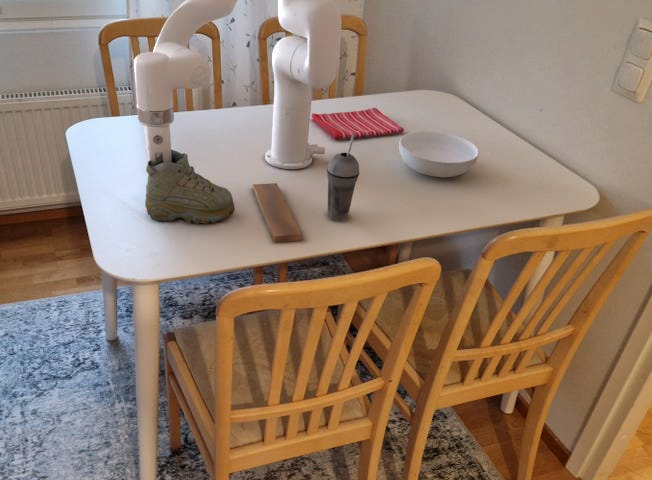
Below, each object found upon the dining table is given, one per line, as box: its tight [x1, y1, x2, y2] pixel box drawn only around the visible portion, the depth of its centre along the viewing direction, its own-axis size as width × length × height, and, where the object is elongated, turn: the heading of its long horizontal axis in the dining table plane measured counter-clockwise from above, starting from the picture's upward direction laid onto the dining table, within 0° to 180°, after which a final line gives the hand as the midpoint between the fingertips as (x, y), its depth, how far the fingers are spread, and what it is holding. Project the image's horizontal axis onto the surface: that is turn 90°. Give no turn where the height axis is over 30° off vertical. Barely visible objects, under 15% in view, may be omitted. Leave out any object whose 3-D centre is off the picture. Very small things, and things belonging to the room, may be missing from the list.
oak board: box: [252, 182, 303, 244], centre depth 145 cm, size 6×24×2 cm, turn 14°
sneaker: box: [144, 149, 236, 225], centre depth 139 cm, size 11×19×15 cm, turn 83°
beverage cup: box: [326, 135, 360, 222], centre depth 141 cm, size 7×7×20 cm
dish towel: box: [311, 107, 405, 141], centre depth 191 cm, size 17×24×3 cm
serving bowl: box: [398, 130, 480, 178], centre depth 169 cm, size 21×21×7 cm
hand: (159, 190), depth 145 cm, fingers closed
